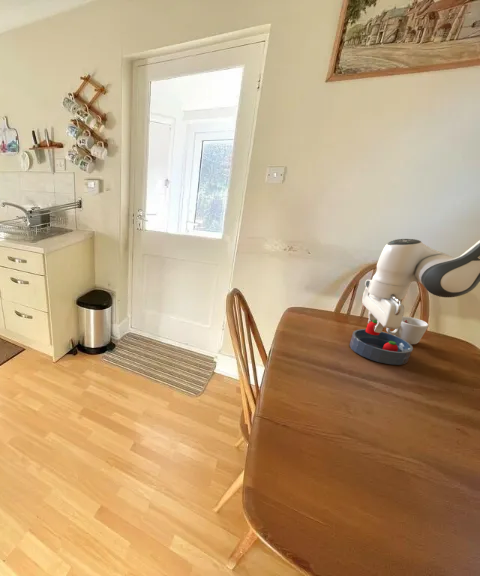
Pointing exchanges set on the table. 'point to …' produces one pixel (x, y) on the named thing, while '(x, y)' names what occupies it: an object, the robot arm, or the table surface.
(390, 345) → the strawberry
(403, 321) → the cup
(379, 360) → the bowl
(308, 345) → the table surface
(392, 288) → the robot arm
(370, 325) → the strawberry
